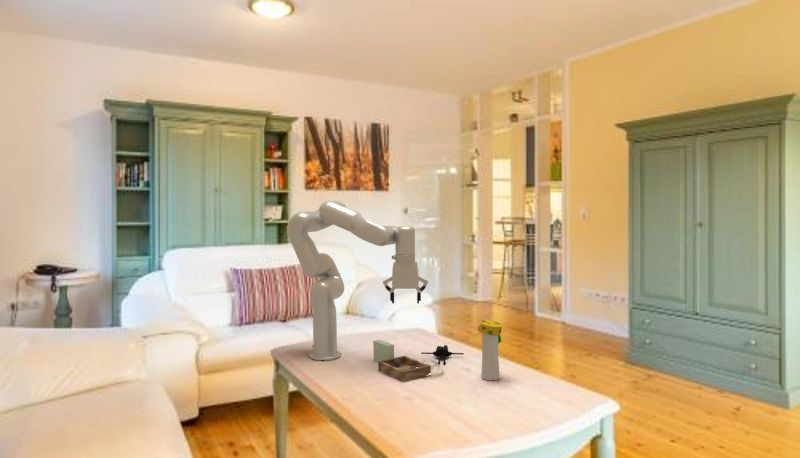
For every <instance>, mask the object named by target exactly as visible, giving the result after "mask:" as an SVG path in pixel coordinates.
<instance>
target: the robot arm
mask: <svg viewBox="0 0 800 458" xmlns="http://www.w3.org/2000/svg"><path fill="white" fill-rule="evenodd" d="M331 226H336V227H338V228H341V229H343V230H345V231H348V232H349V233H351V234H352V235H354V236H356V238H359V239H361V240H362V241H364V242H367V243H370V244H372V245H375V246H378V247H384V246H389V245H394V246H395V248H394V249H395V254H394V255H391V260H395V261H394V262H393V264H392V271H391V273H392V274H391V277H388V278H386V279H385V280H383V282H382V283H383V285H384V288H385V290H386V291H388V292H389V294H390V295H389V296H390V297H389V298H390V299H389V300H390V302H391V304H395V290H396V289H398V290H399V289H402V290H404V289H405V290H406V289H409V290H410V289H415V290H416V303H417V304H420V302H421V300H422V292H423V291H424V290H426V288H427V285H428V284H429V282H428V280H426V278H425V279H424V278H423V277H421V276H419V266H418V262H417V261H416V229H415V227H413V226H409V225H408V226H407V225H406V226H404V225H403V226H395V225H394V226H393V225H379V224H376V223H373V222H371V221H369V220H367V219H366V218H364V217H363V216H362V214H361V212H359V211H357V210H355V209H352V208H350V207H347V206H346V204H345V203H344V202H342V201H339V200H328V201H324V202H323V203H321V204H320V206H319V207H318V209H317V210H314V211H301V212H300V211H299V212H297V213H295V214H293V215H292V216H291V217H290V219H289V221H288V224H287V228H286V232H287V238H288V240H289V241H290V244H291V247H292V248H293V251H294V252H295V255H296V257H297V259H298V262H299V264H300V266H301V269H302V270H303V273H304V274H305V276H306V277H307V278H310V279H317V278H318V280H316V281H314V283H313V284H312V285H311V287H310V289H309V297H310V301H311V308H312V337H313V338H312V342H313V343H312V348H313V351H312V352H310V353H309V358H310V359H311V360H313V359H314V361H321V360H324V361H331V360H337V359H339V358H340V357H341V356H342V352H341V351H339V350H338V329H337V328H338V325H337V324H338V323H337V320H338V319H337V309H336V304H335V300H336V299H339V298H340V297H341V296H342V295H343V294H344V293H345V283H344V281H343V278H342V276H341V273H340V271H339V269H338V267H337V265H336V263H335V261H334V259H333V258H332V257H331V256H330V255H328V254H327V253H324V252H323V253H322V252H319V250H318V249H317V246H316V244H315V241H314V240H313V239H312V238H311V237H310V235H309V233H314V232H319V231H321V230H324V229H327V228H329V227H331ZM390 282H391V287H390V286H389V284H388V283H390ZM419 282H421V283H423V284H422V286H421V287H419V286H420V285H419V284H420V283H419Z"/></svg>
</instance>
